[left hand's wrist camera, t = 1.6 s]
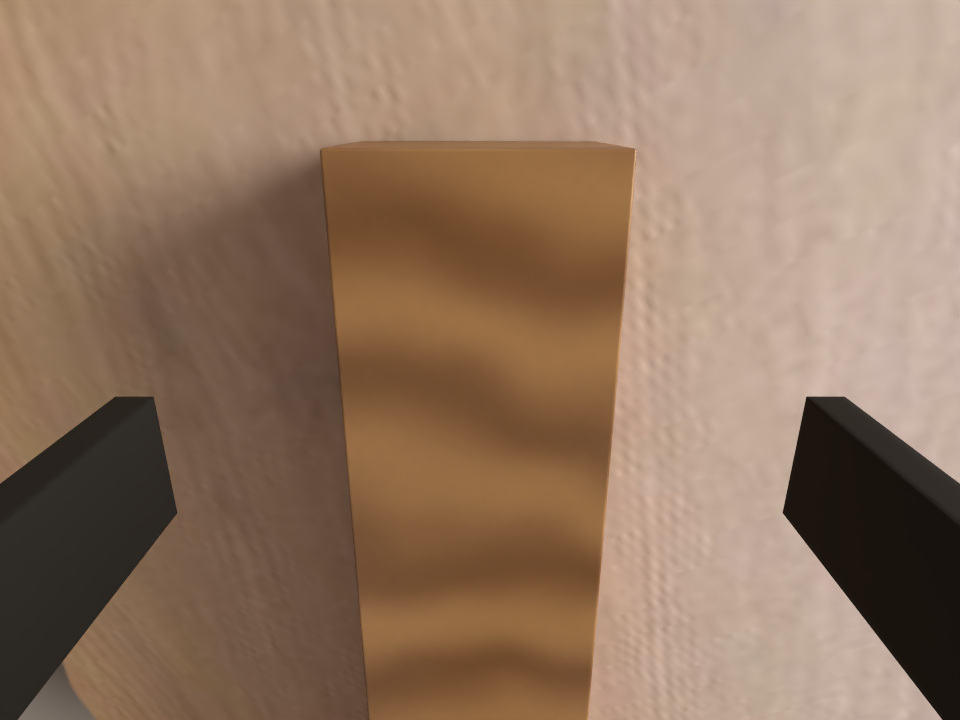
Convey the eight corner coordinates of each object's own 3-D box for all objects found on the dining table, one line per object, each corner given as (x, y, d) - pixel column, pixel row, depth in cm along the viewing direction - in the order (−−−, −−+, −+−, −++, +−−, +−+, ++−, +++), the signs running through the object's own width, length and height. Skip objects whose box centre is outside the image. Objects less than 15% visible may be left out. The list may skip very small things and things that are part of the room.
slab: (360, 141, 24) (319, 148, 18) (596, 141, 24) (637, 148, 18) (411, 947, 43) (399, 1088, 37) (545, 947, 43) (556, 1088, 37)
